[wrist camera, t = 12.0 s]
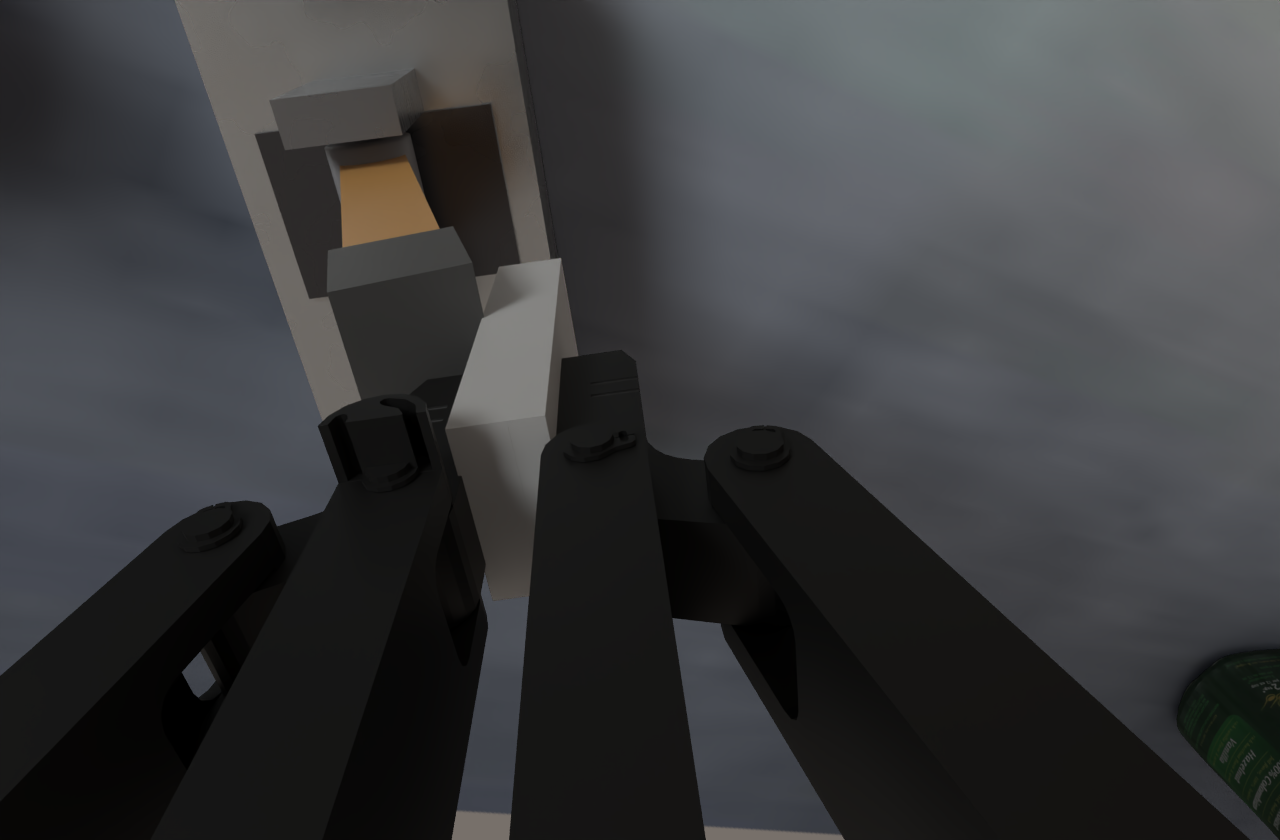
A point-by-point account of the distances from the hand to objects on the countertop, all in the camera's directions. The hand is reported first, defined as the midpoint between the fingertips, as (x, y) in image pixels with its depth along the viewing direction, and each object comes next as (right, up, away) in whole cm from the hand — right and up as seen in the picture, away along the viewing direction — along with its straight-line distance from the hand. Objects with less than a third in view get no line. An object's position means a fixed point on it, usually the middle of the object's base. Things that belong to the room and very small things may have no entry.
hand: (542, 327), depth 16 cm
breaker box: (-6, +8, +14) cm, 18 cm away
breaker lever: (-6, +5, +9) cm, 12 cm away
